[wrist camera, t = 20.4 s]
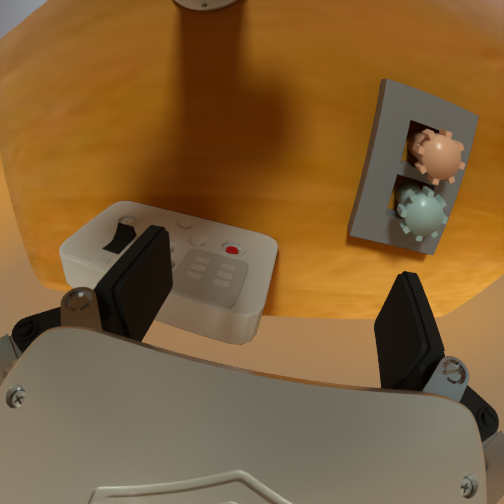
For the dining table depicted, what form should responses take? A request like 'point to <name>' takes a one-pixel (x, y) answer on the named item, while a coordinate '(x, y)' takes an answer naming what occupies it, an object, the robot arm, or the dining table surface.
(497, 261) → the dining table surface
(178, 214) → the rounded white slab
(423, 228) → the jaw gear
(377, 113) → the housing
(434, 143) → the jaw gear
